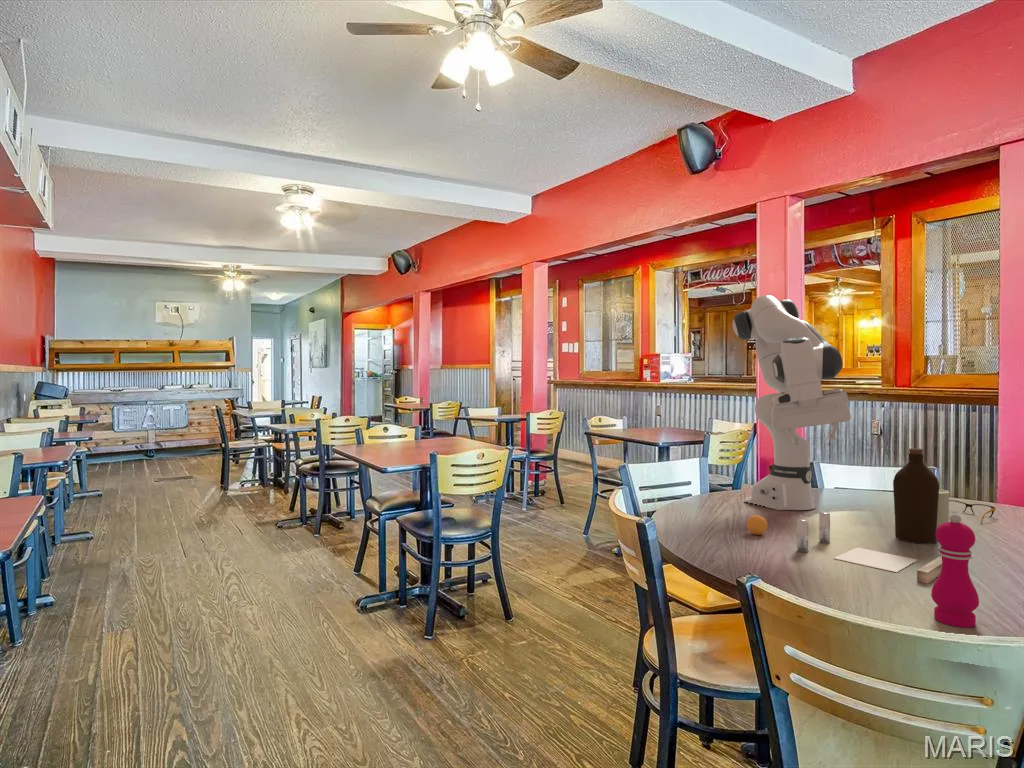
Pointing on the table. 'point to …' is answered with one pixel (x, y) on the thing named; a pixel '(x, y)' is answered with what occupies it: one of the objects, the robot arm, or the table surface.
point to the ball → (757, 524)
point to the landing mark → (876, 559)
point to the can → (943, 507)
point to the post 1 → (802, 535)
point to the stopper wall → (930, 571)
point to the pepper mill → (955, 575)
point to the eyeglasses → (978, 504)
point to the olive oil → (916, 500)
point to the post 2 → (824, 527)
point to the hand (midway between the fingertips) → (814, 442)
